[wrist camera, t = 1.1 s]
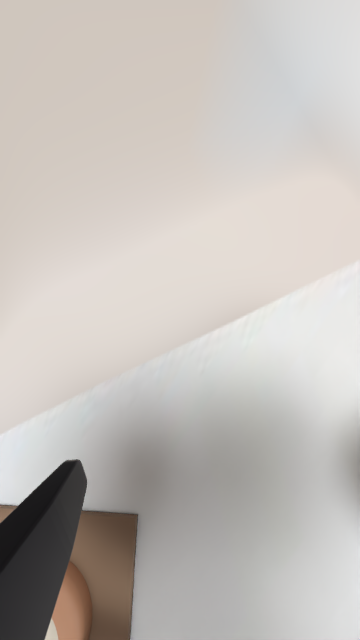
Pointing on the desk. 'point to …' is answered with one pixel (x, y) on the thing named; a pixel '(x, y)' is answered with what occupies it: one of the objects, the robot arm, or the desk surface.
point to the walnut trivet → (105, 568)
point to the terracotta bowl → (71, 609)
